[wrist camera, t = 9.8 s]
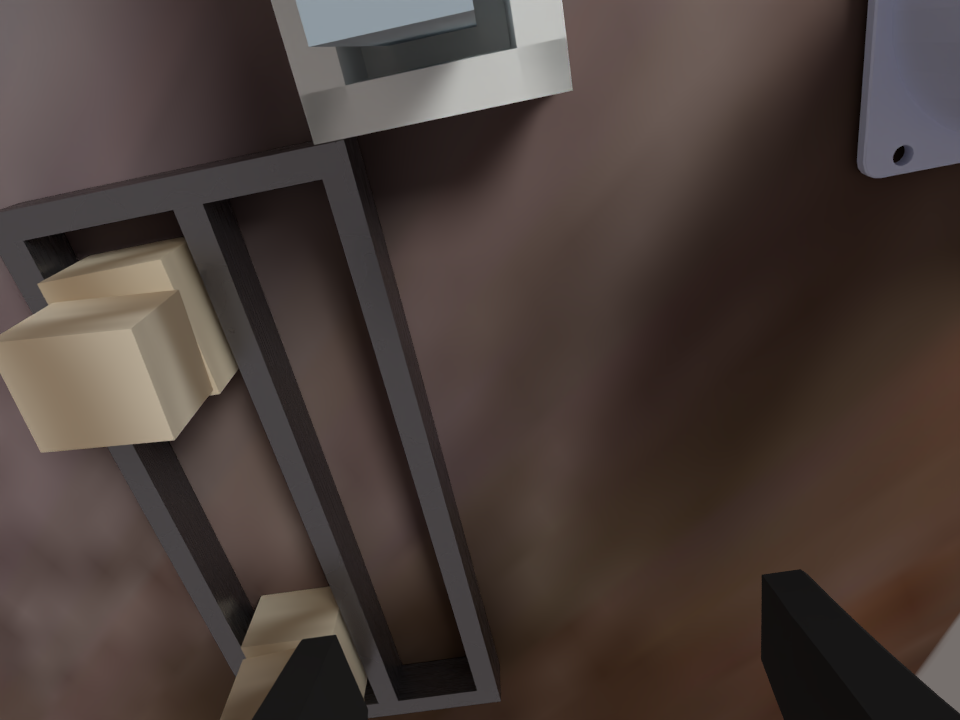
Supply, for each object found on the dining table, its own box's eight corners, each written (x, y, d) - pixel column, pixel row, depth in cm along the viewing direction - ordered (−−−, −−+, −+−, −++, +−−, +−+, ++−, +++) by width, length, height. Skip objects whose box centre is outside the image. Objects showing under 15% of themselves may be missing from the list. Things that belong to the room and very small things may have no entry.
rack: (355, 131, 17) (343, 140, 15) (499, 665, 26) (500, 701, 25) (19, 202, 18) (-22, 217, 16) (277, 695, 27) (265, 731, 26)
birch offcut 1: (345, 581, 24) (332, 635, 22) (372, 651, 26) (362, 707, 24) (262, 593, 25) (240, 647, 22) (294, 661, 26) (277, 717, 24)
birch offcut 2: (329, 640, 22) (313, 707, 20) (365, 700, 24) (353, 768, 22) (242, 659, 23) (217, 726, 20) (282, 716, 24) (262, 784, 22)
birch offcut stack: (204, 232, 18) (114, 293, 14) (253, 354, 20) (187, 443, 15) (86, 255, 18) (-39, 323, 14) (145, 373, 20) (50, 467, 16)
